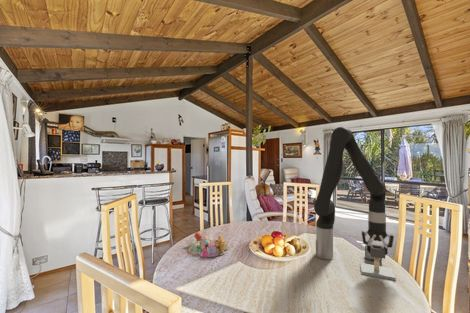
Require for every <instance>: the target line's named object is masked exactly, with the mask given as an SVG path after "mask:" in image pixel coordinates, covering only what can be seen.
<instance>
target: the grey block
mask: <svg viewBox="0 0 470 313" xmlns="http://www.w3.org/2000/svg"><path fill="white" fill-rule="evenodd" d="M370 246H371V247H370V255H371V257H377V258H382V259H386V255H385V249H384V245H379V244H372V243H371V245H370Z"/></svg>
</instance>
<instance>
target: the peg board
mask: <svg viewBox="0 0 470 313" xmlns="http://www.w3.org/2000/svg"><path fill="white" fill-rule="evenodd" d="M359 266H360V271H361V275H366V276H371V277H376V278H380V279H381V278H382V279H387V280H390V281H391V280H392V281H396V280H397V278H396V276H395V274H394V271H393V269H392V267H387V266H381V265H380V261H379V258H377V257H374V260H373V264H369V263H363V262H360V263H359Z"/></svg>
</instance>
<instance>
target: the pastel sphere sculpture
mask: <svg viewBox="0 0 470 313" xmlns="http://www.w3.org/2000/svg"><path fill="white" fill-rule="evenodd" d="M194 238H195V240H196V242H191V244H190V246H189V247H188V253H189V254H190V255H198V256H199V257H201V258H215V257H218V256H222V255H224V254H225V251H227V250H228V248H229V247H228V243H227V242H226V241H224V236H222V235H218V239H217V240H215V239H214V237H213V236H209V235H204V236H202V234H201V233H200V232H199V231H197V232H195V233H194Z"/></svg>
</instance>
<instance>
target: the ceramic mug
mask: <svg viewBox="0 0 470 313" xmlns="http://www.w3.org/2000/svg"><path fill="white" fill-rule="evenodd" d="M364 245H365V246H364V259H367V260H372V261H374V257H371V255H370V253H369V252H368V251H367V245H366V244H364ZM382 260H383V258H379V262H380V261H382Z"/></svg>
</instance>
